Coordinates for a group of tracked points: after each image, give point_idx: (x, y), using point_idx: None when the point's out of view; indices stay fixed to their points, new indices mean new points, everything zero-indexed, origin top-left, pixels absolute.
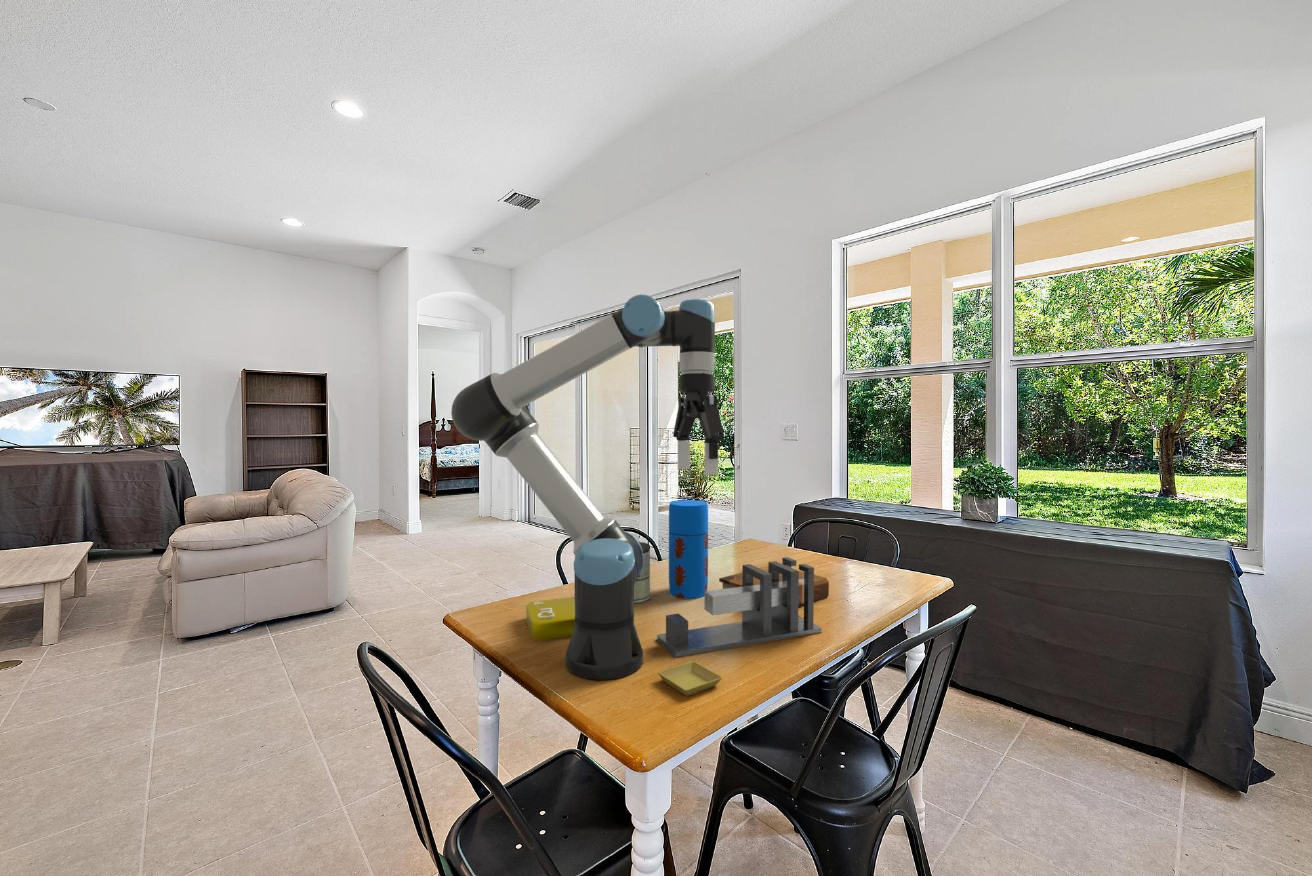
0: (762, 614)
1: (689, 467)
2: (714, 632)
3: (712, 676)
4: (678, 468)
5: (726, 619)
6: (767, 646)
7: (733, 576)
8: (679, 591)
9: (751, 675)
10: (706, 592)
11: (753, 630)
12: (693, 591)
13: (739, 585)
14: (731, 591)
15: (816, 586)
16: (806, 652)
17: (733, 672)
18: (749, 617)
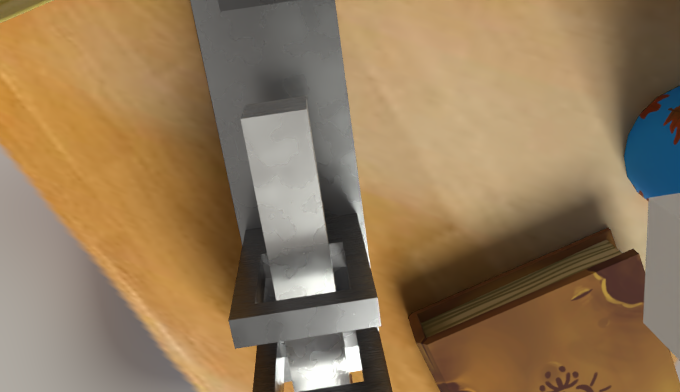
0: (245, 254)
1: (651, 328)
2: None
3: (14, 9)
4: (672, 199)
5: (420, 185)
6: (212, 222)
7: (638, 302)
8: (661, 107)
9: (49, 119)
10: (292, 112)
11: None
12: (636, 152)
13: (548, 290)
14: (286, 199)
15: None
16: (162, 295)
17: (70, 81)
18: None
